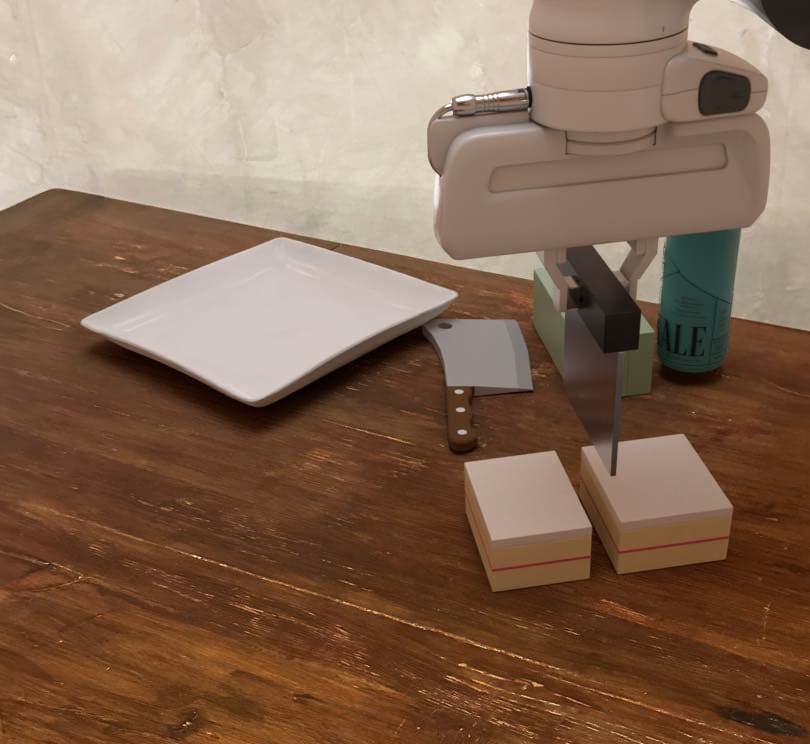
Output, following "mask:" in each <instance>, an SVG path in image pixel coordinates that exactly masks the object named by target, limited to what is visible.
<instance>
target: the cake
mask: <svg viewBox="0 0 810 744" xmlns="http://www.w3.org/2000/svg"><path fill="white" fill-rule="evenodd" d="M579 471H580V472H579V473H580V474H579V496H578V498H580V499H579V500H581V501H580V502H581V504H582V506H583V508H584V510H585V512H586V514H587V516H588V518H589V520H590V522H591V524H592V526H593V527H594V529H595V531H596V533H597V536H598V537H599V539H600V541H601V544H602V546H603V548H604V550H605V552H606V554H607V556H608V558H609V560H610V562H611V564H612V566H613V568H614V570H615V572H616V574H617V575H624V574H632V573H638V572H639V573H640V572H647V571H653V570H659V569H667V568H674V567H681V566H688V565H696V564H702V563H709V562H716V561H724V560H726V559H727V554H728V547H729V541H730V539H731V535H730V533H731V526H732V519H733V512H734V506H733V504H732V503H731V501H730V500H729V499H728V497H727V495H726V494H725V493H724V491H723V490H722V488H721V487H720V485H719V484H718V482H717V481H716V479H715V478H714V476H713V475H712V473H711V472H710V470H709V469H708V467H707V466H706V464H705V463H704V462H703V460H702V459H701V457H700V456H699V454H698V453H697V452H696V450H695V449H694V447H693V445H692V443H691V442H690V441H689V440H688V438H687V436H686V435H685V434H684V433H678V434H670V435H663V436H655V437H648V438H646V437H645V438H640V439H639V438H638V439H632V440H625V441H618V454H617V469H616V476H610V475H609V473H608V471H607V469H606V467H605V466H604V464H603V462H602V460H601V458H600V456H599V455H598V453H597V451H596V449H595V447H594V445H593V444H592V445H586V446H581V449H580V470H579Z"/></svg>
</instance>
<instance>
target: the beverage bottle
mask: <svg viewBox="0 0 810 744" xmlns="http://www.w3.org/2000/svg"><path fill="white" fill-rule="evenodd" d="M741 234H742V228H739V229H730V230H721V231H712V232H703V233H695V234H686V235H677V236H668V237H665V241H663V243H664V244H663V247H662V250H663V251H662V256H663V257H662V263H661V269H662V271H661V272H662V277H661V278H660V281H661V287H660V288H659V295H658V296H659V300H658V305H659V307H660V308H659V311H657V314H658V316H657V320H656V322H657V323H656V331H655V337H656V338H655V341H654V346H656V351H655V353H656V355H657V356H656V357H657V359H658V360H659V362H660V363H661V364H662V365H664V366H666V367H667V368H669V369H672V370H674V371H678V372H685V373H704V372H710V371H713V370H715V369H717V368H719V367H721V366H722V365H723V364H724V362H725V360H726V358H727V355H728V348H729V342H730V340H731V338H730V333H732V332H731V325H732V322H733V321H732V316H733V315H734V314H733V313H734V312H733V307H734V306H735V305H734V299H735V296H736V295H734V294H736V293H735V282H736V276H737V275H736V274H737V266H738V259H739V250H740V243H741Z"/></svg>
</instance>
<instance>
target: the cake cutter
mask: <svg viewBox="0 0 810 744" xmlns="http://www.w3.org/2000/svg"><path fill="white" fill-rule="evenodd" d="M556 265H557V267H558V268H559V270H560V272H561V273H562V275H563V277H564V276H575V277H576V279H577V282H579V283H580V285H581V286H582V295H581V298H580V301H581V309H580V310H575V311H568V312H565V331H564V364H563V378H562V390H563V392H564V394H565V396H566V397H567V399H568V401H569V404H570V405H571V407H572V409H573V411H574V413H575V414H576V416H577V419H578V420H579V421H580V423H581V425H582V427H583V429H584V431H585V433H586V434H587V436H588V438H589V440H590V441H591V443H592V446H593V445H594V447H595V449H596V451H597V453H598V455H599V456H600V458H601V460H602V462H603V464H604V466H605V467H606V469H607V471H608V473H609V475H610V476H616V469H617V454H618V442H619V439H620V437H619V436H620V422H621V409H622V407H621V405H622V397H621V393H622V378H623V363H624V351H630V350H638V349H639V336H640V323H641V314H642V309H641V308H640V306H639V305H638V304H637V302H635V301H634V300H633V299H632V297H631V296H630V295H629V293H628V292H627V291H626V289H625V288H624V287H623V285H622V284H621V283H620V281H619V280H618V279H617V277H616V276H615V275H614V273H613V272H612V271H613V270H612V269H611V268H610V267H609V265H608V264H607V263H606V261H605V260H604V258H603V257H602V256H601V255H600V253H599V252H598V250H597V249H596V248H595V246H594V245H589V246H580V247H572V248H566V262H565V263H564V264H558V263H557V264H556Z"/></svg>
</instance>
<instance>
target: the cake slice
mask: <svg viewBox="0 0 810 744" xmlns="http://www.w3.org/2000/svg"><path fill="white" fill-rule="evenodd" d="M463 466H464V467H463V468H464V469H463V471H464V499H465V501H464V503H465V514H466V516H467V520H468V523H469V525H470V529H471V531H472V535H473V537H474V541H475V544H476V546H477V549H478V552H479V557H480V559H481V562H482V565H483V566H484V570H485V573H486V576H487V580H488V582H489V585H490V588H491V591H492V592H493V593H497V592H504V591H512V590H519V589H526V588H532V587H539V586H540V587H541V586H546V585H548V586H549V585H554V584H562V583H567V582H573V581H581V580H589V579H590V577H591V559H592V540H593V539H592V538H593V536H592V535H593V524H592V522H591V520H590V518H589V516H588V514H587V512H586V510H585V508H584V506H583V504H582V502H581V501H580V499H579V496H578V494H577V492H576V491H575V489H574V488H575V487H573V484H572V482H571V480H570V478H569V476H568V474H567V472H566V470H565V468H564V466H563V464H562V462H561V460H560V458H559V455H558V453H557V452H556V450H549V451H541V452H533V453H526V454H519V455H510V456H504V457H503V456H502V457H495V458H489V459H481V460H473V461H466V462H464V463H463Z"/></svg>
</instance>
